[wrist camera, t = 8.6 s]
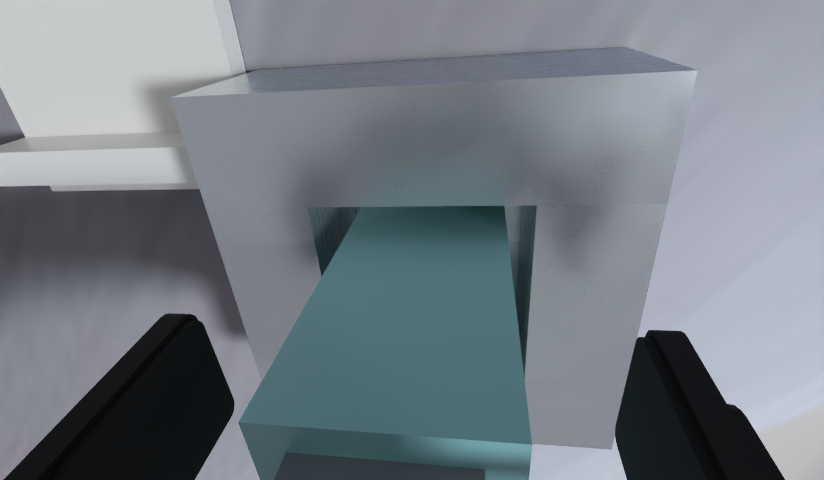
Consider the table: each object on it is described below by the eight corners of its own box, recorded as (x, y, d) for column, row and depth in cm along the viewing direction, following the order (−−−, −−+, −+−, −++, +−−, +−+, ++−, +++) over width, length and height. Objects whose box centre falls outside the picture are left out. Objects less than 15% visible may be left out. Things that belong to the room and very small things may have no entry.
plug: (373, 186, 16) (217, 457, 6) (501, 184, 15) (537, 485, 6) (385, 289, 18) (282, 604, 8) (498, 292, 17) (519, 638, 8)
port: (259, 69, 15) (153, 102, 10) (626, 47, 13) (710, 74, 8) (318, 336, 21) (269, 438, 16) (581, 346, 19) (616, 466, 14)
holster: (-69, -116, 14) (-197, -144, 11) (192, -155, 12) (115, -196, 10) (72, 182, 18) (5, 212, 16) (271, 178, 17) (233, 210, 14)
